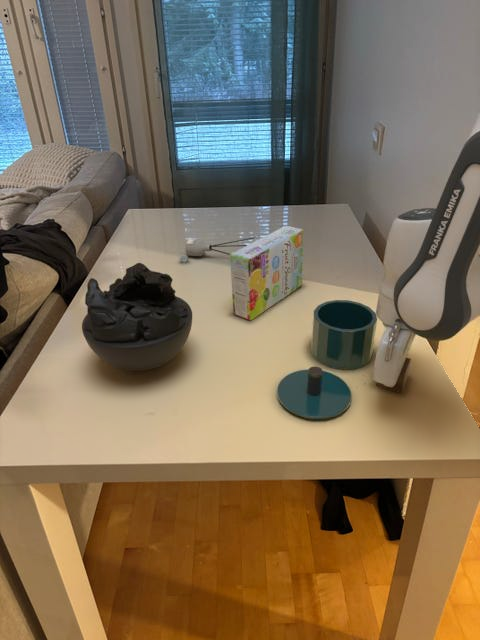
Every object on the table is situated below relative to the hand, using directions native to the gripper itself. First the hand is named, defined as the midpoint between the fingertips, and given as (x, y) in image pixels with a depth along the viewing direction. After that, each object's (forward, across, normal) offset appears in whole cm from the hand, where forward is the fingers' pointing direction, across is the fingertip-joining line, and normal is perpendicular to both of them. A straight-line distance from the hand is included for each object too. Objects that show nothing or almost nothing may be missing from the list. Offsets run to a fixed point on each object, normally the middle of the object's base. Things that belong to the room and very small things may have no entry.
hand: (392, 374), depth 83 cm
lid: (+1, -10, +11) cm, 15 cm away
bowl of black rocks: (+2, -15, +44) cm, 47 cm away
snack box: (+2, +18, +33) cm, 38 cm away
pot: (+2, +5, +11) cm, 12 cm away
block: (+2, 0, 0) cm, 2 cm away
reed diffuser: (+2, +33, +56) cm, 65 cm away
